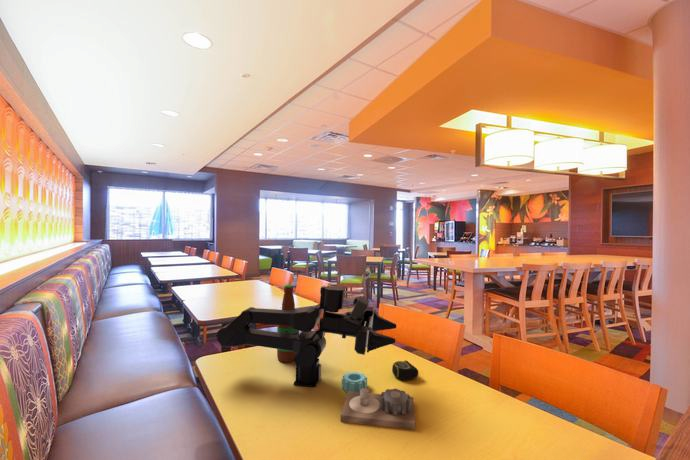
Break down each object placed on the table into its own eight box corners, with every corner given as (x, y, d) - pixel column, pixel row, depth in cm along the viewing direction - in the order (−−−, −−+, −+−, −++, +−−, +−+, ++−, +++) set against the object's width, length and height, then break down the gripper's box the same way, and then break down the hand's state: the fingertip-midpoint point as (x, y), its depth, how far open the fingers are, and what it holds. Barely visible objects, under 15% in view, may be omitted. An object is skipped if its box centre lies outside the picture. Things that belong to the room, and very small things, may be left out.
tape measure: (419, 380, 95) (419, 367, 95) (398, 383, 93) (398, 370, 93) (408, 370, 102) (408, 358, 102) (388, 373, 100) (388, 361, 100)
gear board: (340, 421, 75) (340, 400, 75) (348, 396, 86) (348, 377, 85) (415, 430, 72) (415, 408, 72) (413, 403, 83) (413, 383, 83)
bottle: (273, 361, 107) (273, 286, 106) (282, 353, 114) (282, 282, 113) (294, 364, 105) (294, 288, 105) (301, 355, 112) (302, 284, 112)
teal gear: (340, 392, 87) (340, 381, 87) (344, 380, 94) (344, 370, 94) (365, 395, 86) (365, 384, 86) (367, 382, 93) (368, 372, 93)
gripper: (336, 309, 81) (398, 319, 79) (349, 287, 100) (399, 294, 97) (332, 350, 83) (393, 361, 80) (345, 321, 101) (395, 329, 99)
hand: (395, 333), depth 89 cm, fingers open, 9 cm apart
